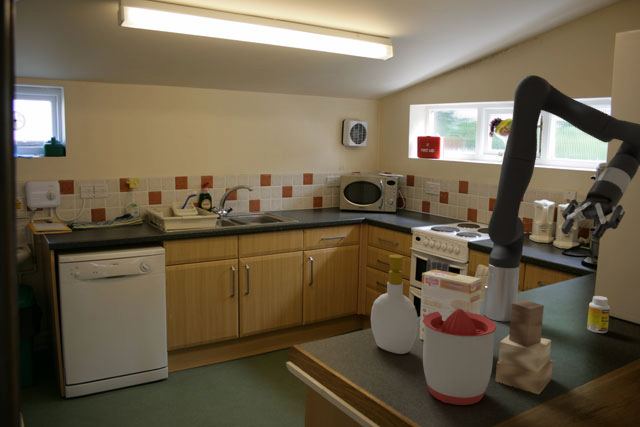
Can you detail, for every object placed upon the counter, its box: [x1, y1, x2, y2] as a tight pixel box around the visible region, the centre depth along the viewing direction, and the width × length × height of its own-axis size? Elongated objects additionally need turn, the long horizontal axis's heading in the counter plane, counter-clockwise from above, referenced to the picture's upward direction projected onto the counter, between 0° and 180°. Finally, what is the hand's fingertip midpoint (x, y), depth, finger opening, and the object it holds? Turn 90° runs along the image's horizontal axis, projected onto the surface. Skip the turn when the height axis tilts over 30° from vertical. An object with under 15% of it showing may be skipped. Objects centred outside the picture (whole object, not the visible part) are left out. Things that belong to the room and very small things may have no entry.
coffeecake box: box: [419, 269, 483, 341], centre depth 148 cm, size 15×7×20 cm, turn 47°
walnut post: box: [508, 299, 544, 347], centre depth 126 cm, size 5×5×9 cm
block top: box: [498, 334, 552, 373], centre depth 127 cm, size 9×9×5 cm
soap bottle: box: [370, 254, 419, 355], centre depth 143 cm, size 14×9×26 cm, turn 46°
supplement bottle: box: [586, 295, 611, 334], centre depth 160 cm, size 6×6×10 cm
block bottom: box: [495, 359, 554, 395], centre depth 127 cm, size 10×10×5 cm
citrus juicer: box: [422, 309, 497, 406], centre depth 120 cm, size 16×17×20 cm
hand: (578, 235), depth 137 cm, fingers open, 8 cm apart
